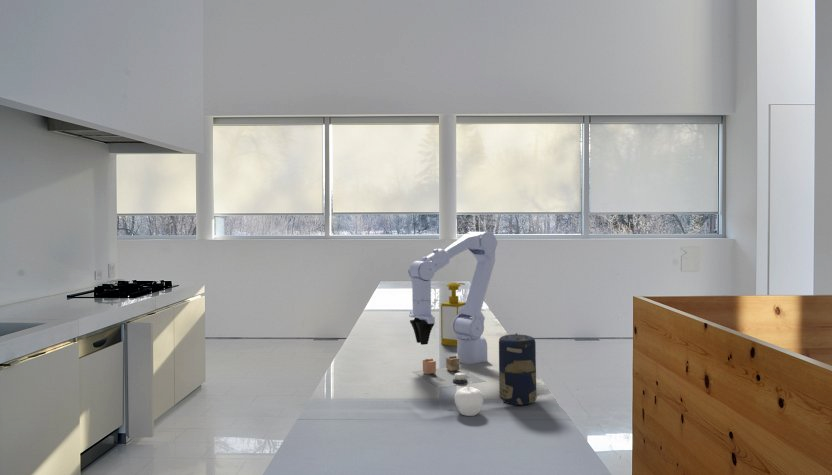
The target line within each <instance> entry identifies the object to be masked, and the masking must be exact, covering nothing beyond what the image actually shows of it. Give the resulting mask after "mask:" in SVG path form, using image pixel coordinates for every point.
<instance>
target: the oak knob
mask: <svg viewBox="0 0 832 475" xmlns="http://www.w3.org/2000/svg"><path fill="white" fill-rule="evenodd" d="M445 362H446V365H445V368H446V369H448V370H450V371H454V370H459V368H460V363H459V358H457V355H452V356H448V357H445Z"/></svg>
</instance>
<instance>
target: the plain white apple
mask: <svg viewBox="0 0 832 475" xmlns="http://www.w3.org/2000/svg"><path fill="white" fill-rule="evenodd" d="M472 384H473V383H472V382H470V384H468V386H465V387H461V388H459V389H457V391H456V392H455V394H454V403H455V406H456V408H457V410H458V412H459V414H460V415H462V416H468V417H474V416H476V415H478V413H479V412H480V410H481V409H482V406H483V404H484V395H483V393H482V391H481V390H480V389H478V388H476V387H472V386H471V385H472Z"/></svg>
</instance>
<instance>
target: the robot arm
mask: <svg viewBox="0 0 832 475" xmlns="http://www.w3.org/2000/svg"><path fill="white" fill-rule="evenodd" d="M497 246H498V240H497V238H496V236H495V234H494V233H493V232H491V231H475V230H474V231H471V230H470V231H468V232H466V233H464V234H463V235H462V236H461V237H459V238H458V239H457V240H455V241H454V242H453V243H451V244H450V245H448V247H446V248H444V249H442V248H434V249H432V253H430V254H428V255H426V256H422V257H421V259H420V260H415V261H413V262H412V263H411V264H410V266H409V268H408V269H407V270H408V271H407V274H408V276H409V277H410V278H411V283H412V284H411V286H412V287H411V288H412V292H411V294H412V310H410V311H409V315H408V317H409V318H414V319H411V320H409V323H410V325H411V327H412V330H413V333H414V335H415V341H416V343H418V344H420V345H422V346H424V345H428V344H429V340H430V335H431V333H432V330H433V328H434V326H435V324H436V322H435V318H436V317H435V316H434V315H433V314H432V286H431V285H432V284H431V283H432V279H433V278H434V277H435V276H434V275H435V273H437V272H439V271H440V270H441V269H443V268H444V267H447V265H449V264H450V260H451V259H452V258H454V257H455V256H457V255H460V253H463V252H465V251H466V250H468V251H469V252H470V253H471V254H472V255H473V256H474V258H475V260H476V262H477V263H476V266H475V270H474V273H473V276H472V279H471V283H470V287H469V291H468V294H467V297H466V300H465V302H466V304H465V306H464V307H463V308H462V309H461V310H459V311H458V314H457V316H456V318H455V319H454V321H453V324H452V327H453V331H454V332H455V333H456V337H457V346H456V347H457V348H456V350H457V352H456V353H457V354H456V356H457V358H459V364H463V365H464V364H466V365H468V364H469V365H473V364H478V363H479V364H480V363H484V362H488V343H487V339H486V338H485V337H484V336H482V335H483V334H484V332H485V331H484V330H485V319H486V317H485V316H484V314H483V312H482V308H483V305H484V302H485V297H486V293H487V290H488V287H489V283H490V281H491V276H492V274H493V269H494V266H495V263H496V262H495V261H496V251H497V250H496V249H497Z"/></svg>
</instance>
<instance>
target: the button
mask: <svg viewBox="0 0 832 475" xmlns="http://www.w3.org/2000/svg"><path fill="white" fill-rule="evenodd" d="M455 380H465V373H455Z"/></svg>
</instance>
